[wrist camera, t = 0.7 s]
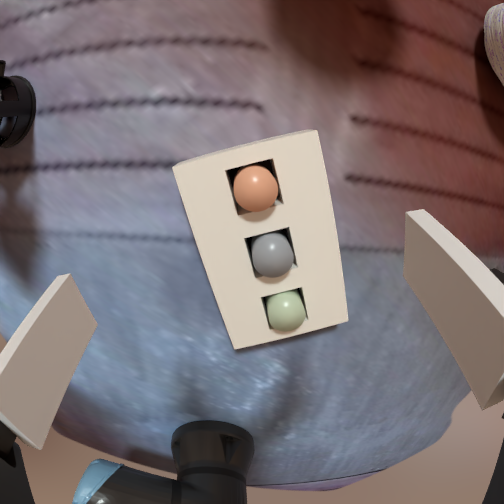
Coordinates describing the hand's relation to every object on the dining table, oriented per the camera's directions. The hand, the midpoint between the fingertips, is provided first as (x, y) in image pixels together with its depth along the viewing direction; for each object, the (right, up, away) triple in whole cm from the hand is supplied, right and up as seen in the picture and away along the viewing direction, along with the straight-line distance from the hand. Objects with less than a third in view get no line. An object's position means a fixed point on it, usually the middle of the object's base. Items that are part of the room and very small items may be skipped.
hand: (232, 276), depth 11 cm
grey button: (+3, +2, +23) cm, 24 cm away
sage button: (+4, -5, +26) cm, 27 cm away
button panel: (+3, +2, +25) cm, 25 cm away
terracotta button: (+1, +8, +21) cm, 22 cm away
